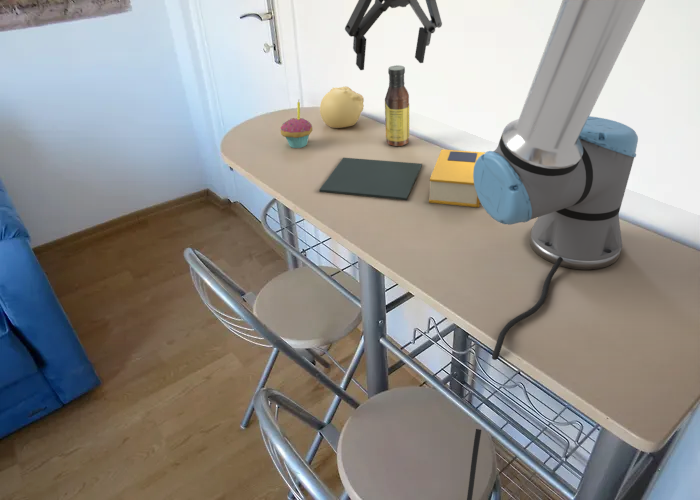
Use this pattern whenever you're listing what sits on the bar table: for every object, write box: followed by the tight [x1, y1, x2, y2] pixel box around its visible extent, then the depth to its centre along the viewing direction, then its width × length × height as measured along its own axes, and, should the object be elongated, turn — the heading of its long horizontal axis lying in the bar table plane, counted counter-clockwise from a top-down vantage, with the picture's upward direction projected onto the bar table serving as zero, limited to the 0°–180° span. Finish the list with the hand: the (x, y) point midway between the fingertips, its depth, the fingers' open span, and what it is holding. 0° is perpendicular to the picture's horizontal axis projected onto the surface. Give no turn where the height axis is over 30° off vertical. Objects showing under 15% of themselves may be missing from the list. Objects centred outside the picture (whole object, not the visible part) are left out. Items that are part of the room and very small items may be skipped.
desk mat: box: [318, 157, 423, 201], centre depth 122 cm, size 18×20×1 cm
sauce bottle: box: [384, 64, 410, 147], centre depth 134 cm, size 7×6×20 cm
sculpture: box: [319, 86, 365, 129], centre depth 150 cm, size 12×12×11 cm
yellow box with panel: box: [428, 148, 487, 208], centre depth 114 cm, size 16×10×6 cm, turn 163°
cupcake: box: [280, 99, 313, 149], centre depth 138 cm, size 9×8×12 cm
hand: (389, 63), depth 110 cm, fingers open, 13 cm apart
